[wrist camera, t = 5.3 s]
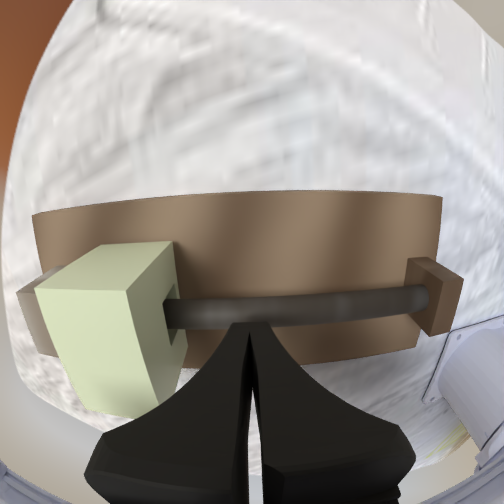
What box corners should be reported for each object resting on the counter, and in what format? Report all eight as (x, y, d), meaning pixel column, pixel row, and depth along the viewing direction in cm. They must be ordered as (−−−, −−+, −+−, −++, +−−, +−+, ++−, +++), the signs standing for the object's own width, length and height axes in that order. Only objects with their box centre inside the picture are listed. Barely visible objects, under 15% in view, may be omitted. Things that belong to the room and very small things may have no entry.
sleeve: (172, 240, 13) (125, 290, 7) (187, 346, 14) (166, 423, 9) (100, 244, 13) (34, 287, 7) (124, 343, 14) (85, 408, 9)
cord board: (432, 194, 14) (490, 209, 9) (409, 339, 16) (443, 382, 12) (41, 212, 13) (-13, 231, 9) (76, 348, 16) (44, 390, 12)
